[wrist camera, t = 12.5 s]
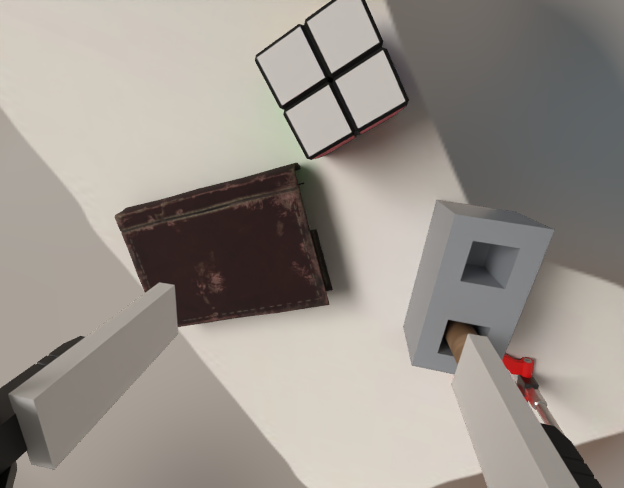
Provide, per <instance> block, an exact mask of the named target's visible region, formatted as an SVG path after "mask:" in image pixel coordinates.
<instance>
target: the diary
mask: <svg viewBox="0 0 624 488" xmlns="http://www.w3.org/2000/svg"><path fill="white" fill-rule="evenodd" d="M299 169H300V166H299V164H298V163H294V164H290V165H286V166H283V167H279V168H276V169H272V170H269V171H265V172H262V173H258V174H255V175H251V176H248V177H244V178H240V179H236V180H232V181H228V182H224V183H220V184H216V185H212V186H208V187H204V188H199V189H196V190H193V191H189V192H186V193H182V194H179V195H175V196H172V197H169V198H165V199H161V200H157V201H153V202H149V203H144V204H140V205H136V206H132V207H128V208H126V209H124V210H123V211H122V212H120V213H118V214H116V215H115V219H116V222H117V224H118V226H119V229H120V231H122V236H123V238H124V241H125V243H126V245H127V248H128V250H129V253H130V256H131V258H132V261H133V264H134V266H135V269H136V272H137V274H138V277H139V279H140V282H141V284H142V286H143V289H144V291H145V293H146V292H147V291H148V290H150V289H151V288H152V287H154V286H155V285H157V284H158V283H159V282H160V283H166V284H172V285H175V297H176V311H177V325H178V327H181V326H187V325H194V324H201V323H207V322H213V321H220V320H226V319H232V318H239V317H247V316H255V315H263V314H271V313H280V312H286V311H292V310H299V309H305V308H311V307H318V306H324V305H329V301H328V298H327V294H326V291H329V290H333V289H332V286H331V282H330V278H329V275H328V271H327V267H326V264H325V260H324V256H323V253H322V249H321V245H320V242H319V238H318V234H317V231H316V229H315V230H310V229H309V225H308V221H307V218H306V214H305V210H304V206H303V202H302V198H301V194H300V190H299V185H301V184H304V183H301V184H298V182H297V178H296V174H295V170H299Z"/></svg>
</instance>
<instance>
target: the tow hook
mask: <svg viewBox="0 0 624 488" xmlns="http://www.w3.org/2000/svg"><path fill="white" fill-rule="evenodd" d="M502 362H503V363H504V365H505V367H506V368H507V369H508V370H509V371H510V372H511V374H516V375H518V380H517V386H518V388H519V390H520V391H521V393H522V395H523V396H524V398H525V399H526V401H527V403H528V400H529V402H530V404H531V406H532V407H533V408H534V409H535V410H537V412H538V413H539V415H540V417H541V418H542V420H543V422H544V423H545V424H547V425H552V426H555V427H556V428H557V429H558V430H559V431H560V432H561V433H562V434H563V435H564V433H563V432H562V430H561V429H560V427H559V425H558V424H557V422H556V421H555V419H554V418H553V416H552V415H551V413H550V411H549V410H548V408H547V403H546V401H545V400H544V398H543V397H542V395H541V394H540V392H539V390H538V386H539V385H538V383H537V382H536V380H535V379H534V377H533V376H532V373H533V366H534V361H533V360H532V359H530V358H527V357H523V358H522V359H521V360H516V359H513V358H512V357H510V356H508V355H506V354H504V357H503V359H502Z"/></svg>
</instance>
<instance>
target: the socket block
mask: <svg viewBox="0 0 624 488" xmlns="http://www.w3.org/2000/svg"><path fill="white" fill-rule="evenodd" d="M553 233H554V229H552V228H550V227H548V226H546V225H543V224H541V223H539V222H536V221H534V220H532V219H530V218H528V217H526V216H523V215H521V214H519V213H517V212H513V211H507V210H500V209H494V208H486V207H480V206H474V205H467V204H461V203H454V202H447V201H441V200H437V201H436V204H435V208H434V212H433V216H432V220H431V223H430V227H429V231H428V235H427V239H426V242H425V246H424V250H423V254H422V258H421V261H420V265H419V269H418V273H417V277H416V280H415V284H414V288H413V292H412V296H411V299H410V303H409V307H408V311H407V315H406V318H405V322H404V326H403V327H404V332H405V337H406V341H407V346H408V350H409V355H410V359H411V364H412V366H417V367H422V368H426V369H431V370H436V371H441V372H446V373H450V374H455V372H456V369H457V366H458V365H457V363H456V361H455V358H454V356H453V354H452V351H451V349H450V347H449V345H448V342H447V340H446V338H445V336H444V331H445V328H446V324H447V321H448V320H453V321H458V322H463V323H469V324H471V325H472V327H473V328H474V330H475V331H476V333H477V335H480V336H486V337H488V339H489V340H490V342H491V344H492V345H493V347H494V349H495V350H496V352H497V354H498V355H499V357H500V359H501V360H502V359H503V357H504V354H505V352H506V349H507V347H508V345H509V342H510V340H511V337H512V335H513V332H514V330H515V327H516V325H517V322H518V320H519V317H520V315H521V312H522V310H523V307H524V305H525V302H526V300H527V297H528V295H529V292H530V290H531V288H532V285H533V283H534V280H535V278H536V275H537V273H538V270H539V268H540V265H541V263H542V260H543V258H544V255H545V253H546V250H547V248H548V245H549V243H550V240H551V238H552V235H553Z"/></svg>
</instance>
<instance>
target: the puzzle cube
mask: <svg viewBox="0 0 624 488" xmlns="http://www.w3.org/2000/svg"><path fill="white" fill-rule="evenodd" d="M382 44H383V40H382V37H381V35H380V33H379V31H378V28H377V26H376V24H375V22H374V19H373V17H372V15H371V12H370V10H369V8H368V6H367V3H366V1H365V0H332V1H330V2H329V3H327V4H326V5H325V6H323V7H322V8H320V9H319V10H318V11H316V12H315V13H314V14H312V15H311V16H309V17H308V18H307V19H305V24H304V25H301V24H298V25H297V26H295V27H294V28H293V29H291V30H290V31H289V32H287V33H286V34H284V35H283V36H282V37H280V38H279V39H278V40H276V41H275V42H273V43H272V44H271V45H269V46H268V47H267V48H265V49H264V50H262V51H261V52H260V53H258V54H257V55H256V58H255V62H256V64H257V66H258V68H259V69H260V71H261V73H262V75H263V77H264V79H265V81H266V83H267V85H268V86H269V88H270V90H271V92H272V94H273V96H274V98H275V100H276V102H277V103H278V105H279V107H280V108H281V109H284V114H283V115H284V117H285V118H286V120H287V122H288V124H289V126H290V128H291V130H292V132H293V134H294V135H295V137H296V139H297V141H298V143H299V145H300V147H301V149H302V150H303V152H304V154H305V156H306V158H307V159H310V160H312V159H316V158H319V157H322V156H324V155H326V154H328V153H330V152H331V151H333V150H335V149H337V148H338V147H340V146H342V145H344V144H345V143H347V142H349V141H351V140H352V139H354V138H356V136H357V134H360V135H361V134H363V133H365V132H366V131H368V130H370V129H372V128H373V127H375V126H377V125H378V124H380V123H382V122H384V121H385V120H387V119H389V118H391V117H392V116H394V115H396V114H397V113H398V112H399V111H401V110H402V109H403V108H404V107H405V106H407V104H408V101H409V99H408V97H407V94H406V92H405V90H404V87H403V85H402V83H401V81H400V78H399V76H398V74H397V72H396V69H395V67H394V65H393V62H392V60H391V58H390V56H389V53H388V51H387V49H385V48H382Z"/></svg>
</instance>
